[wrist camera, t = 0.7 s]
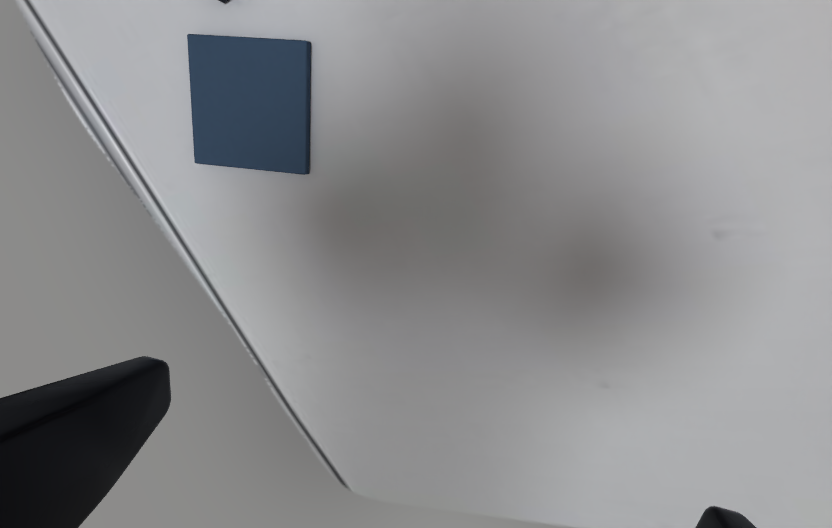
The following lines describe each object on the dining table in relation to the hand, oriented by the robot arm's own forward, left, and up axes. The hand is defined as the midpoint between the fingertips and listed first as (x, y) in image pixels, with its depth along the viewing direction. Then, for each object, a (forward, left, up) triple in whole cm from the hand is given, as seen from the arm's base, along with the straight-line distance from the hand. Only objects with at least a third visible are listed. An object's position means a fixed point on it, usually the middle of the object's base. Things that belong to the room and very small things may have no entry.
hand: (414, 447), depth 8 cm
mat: (+5, +12, -16) cm, 20 cm away
